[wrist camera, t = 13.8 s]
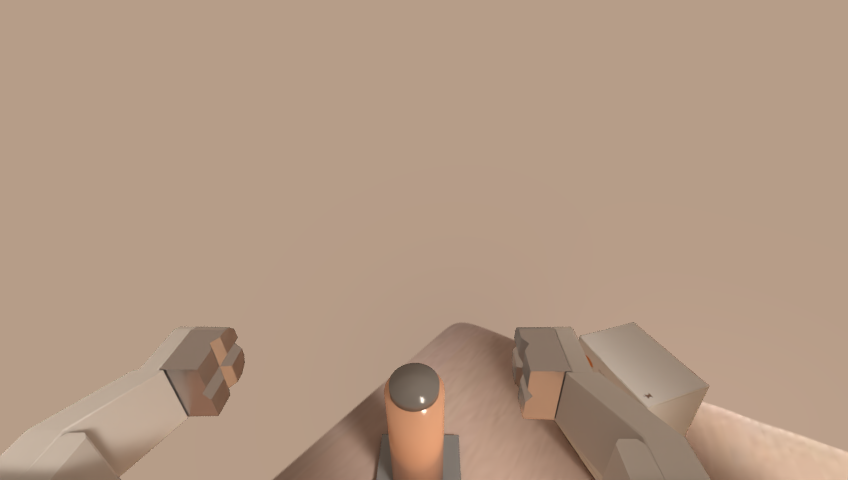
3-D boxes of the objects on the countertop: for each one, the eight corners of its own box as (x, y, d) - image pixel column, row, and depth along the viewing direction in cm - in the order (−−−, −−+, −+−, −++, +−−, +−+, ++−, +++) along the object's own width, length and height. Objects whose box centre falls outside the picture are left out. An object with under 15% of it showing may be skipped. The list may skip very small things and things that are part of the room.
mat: (458, 438, 39) (458, 435, 39) (463, 526, 33) (463, 523, 32) (382, 437, 40) (382, 434, 39) (371, 524, 33) (370, 521, 32)
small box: (664, 479, 36) (713, 386, 29) (608, 502, 34) (648, 409, 28) (604, 407, 42) (634, 319, 36) (555, 424, 41) (577, 334, 34)
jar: (442, 449, 38) (444, 359, 32) (443, 502, 34) (445, 410, 27) (395, 449, 38) (387, 359, 32) (390, 501, 34) (379, 409, 28)
